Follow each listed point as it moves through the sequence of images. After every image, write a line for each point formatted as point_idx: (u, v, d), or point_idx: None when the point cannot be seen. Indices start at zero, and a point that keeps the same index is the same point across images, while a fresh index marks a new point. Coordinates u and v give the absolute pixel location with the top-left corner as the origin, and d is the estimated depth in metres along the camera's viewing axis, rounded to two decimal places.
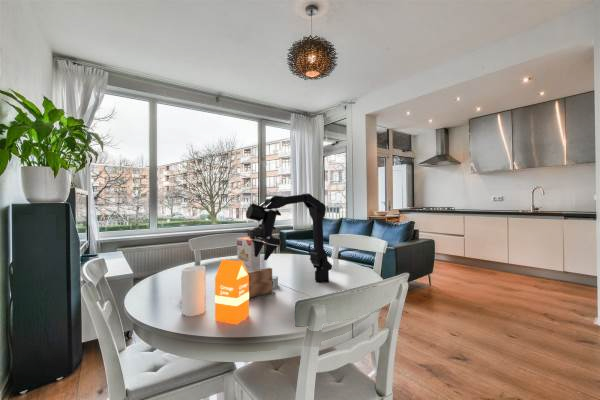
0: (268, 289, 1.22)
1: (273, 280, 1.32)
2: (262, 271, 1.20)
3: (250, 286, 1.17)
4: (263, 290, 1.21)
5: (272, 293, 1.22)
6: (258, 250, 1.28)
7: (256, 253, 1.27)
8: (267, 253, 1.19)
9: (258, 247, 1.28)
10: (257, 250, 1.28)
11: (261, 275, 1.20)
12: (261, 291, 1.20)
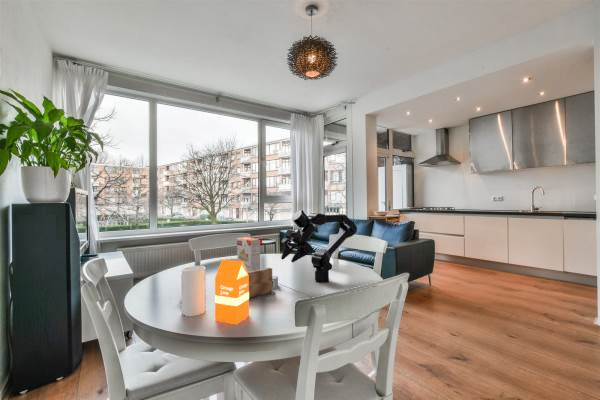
0: (268, 289, 1.22)
1: (273, 280, 1.32)
2: (262, 271, 1.20)
3: (250, 286, 1.17)
4: (263, 290, 1.21)
5: (272, 293, 1.22)
6: (286, 254, 1.34)
7: (283, 256, 1.33)
8: (296, 256, 1.27)
9: (286, 252, 1.35)
10: (285, 254, 1.34)
11: (261, 275, 1.20)
12: (261, 291, 1.20)
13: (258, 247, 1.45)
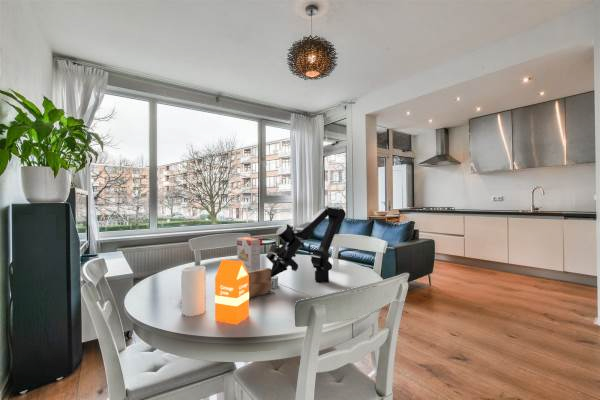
0: (267, 289, 1.22)
1: (273, 280, 1.32)
2: (261, 271, 1.20)
3: (249, 286, 1.16)
4: (262, 290, 1.20)
5: (272, 293, 1.22)
6: None
7: None
8: (275, 271, 1.24)
9: None
10: None
11: (260, 276, 1.20)
12: (260, 291, 1.20)
13: (258, 247, 1.45)
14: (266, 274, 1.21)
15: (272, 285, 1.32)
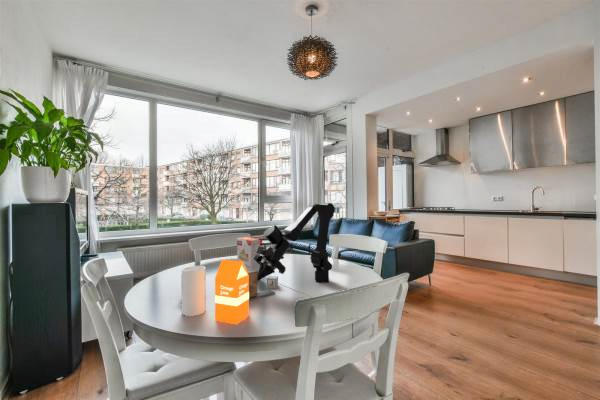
0: (253, 292, 1.18)
1: (273, 280, 1.32)
2: None
3: None
4: None
5: (272, 293, 1.22)
6: None
7: None
8: (262, 274, 1.20)
9: None
10: None
11: None
12: None
13: None
14: (252, 277, 1.17)
15: (272, 285, 1.32)
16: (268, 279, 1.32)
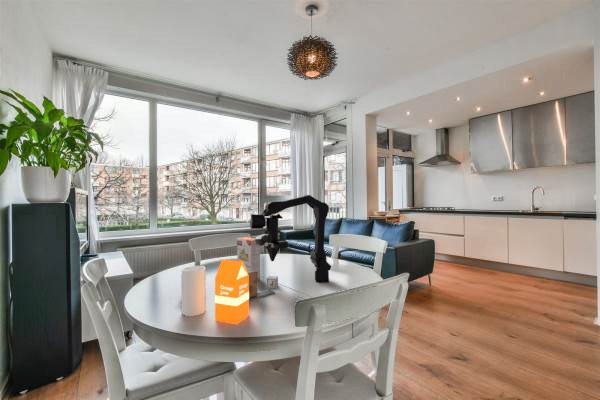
0: (253, 292, 1.18)
1: (273, 280, 1.32)
2: None
3: None
4: None
5: (272, 293, 1.22)
6: None
7: None
8: (273, 255, 1.33)
9: None
10: None
11: None
12: None
13: (258, 247, 1.45)
14: (252, 277, 1.17)
15: (272, 285, 1.32)
16: (268, 279, 1.32)
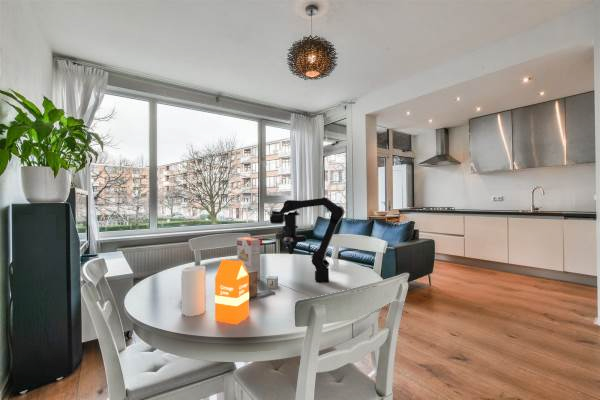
0: (253, 292, 1.18)
1: (273, 280, 1.32)
2: None
3: None
4: None
5: (272, 293, 1.22)
6: None
7: None
8: (292, 248, 1.46)
9: None
10: None
11: None
12: None
13: (258, 247, 1.45)
14: (252, 277, 1.17)
15: (272, 285, 1.32)
16: (268, 279, 1.32)
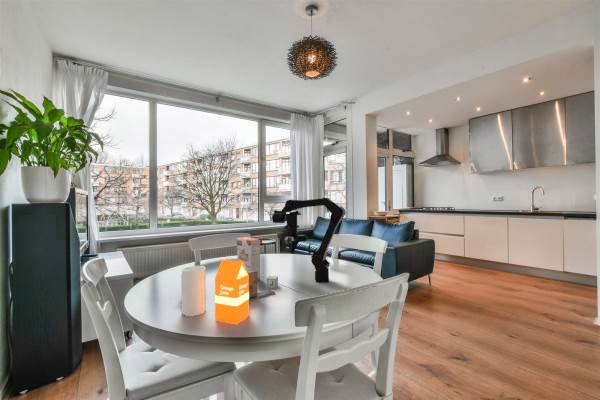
0: (253, 292, 1.18)
1: (273, 280, 1.32)
2: None
3: None
4: None
5: (272, 293, 1.22)
6: None
7: None
8: (293, 247, 1.47)
9: None
10: None
11: None
12: None
13: (258, 247, 1.45)
14: (252, 277, 1.17)
15: (272, 285, 1.32)
16: (268, 279, 1.32)
